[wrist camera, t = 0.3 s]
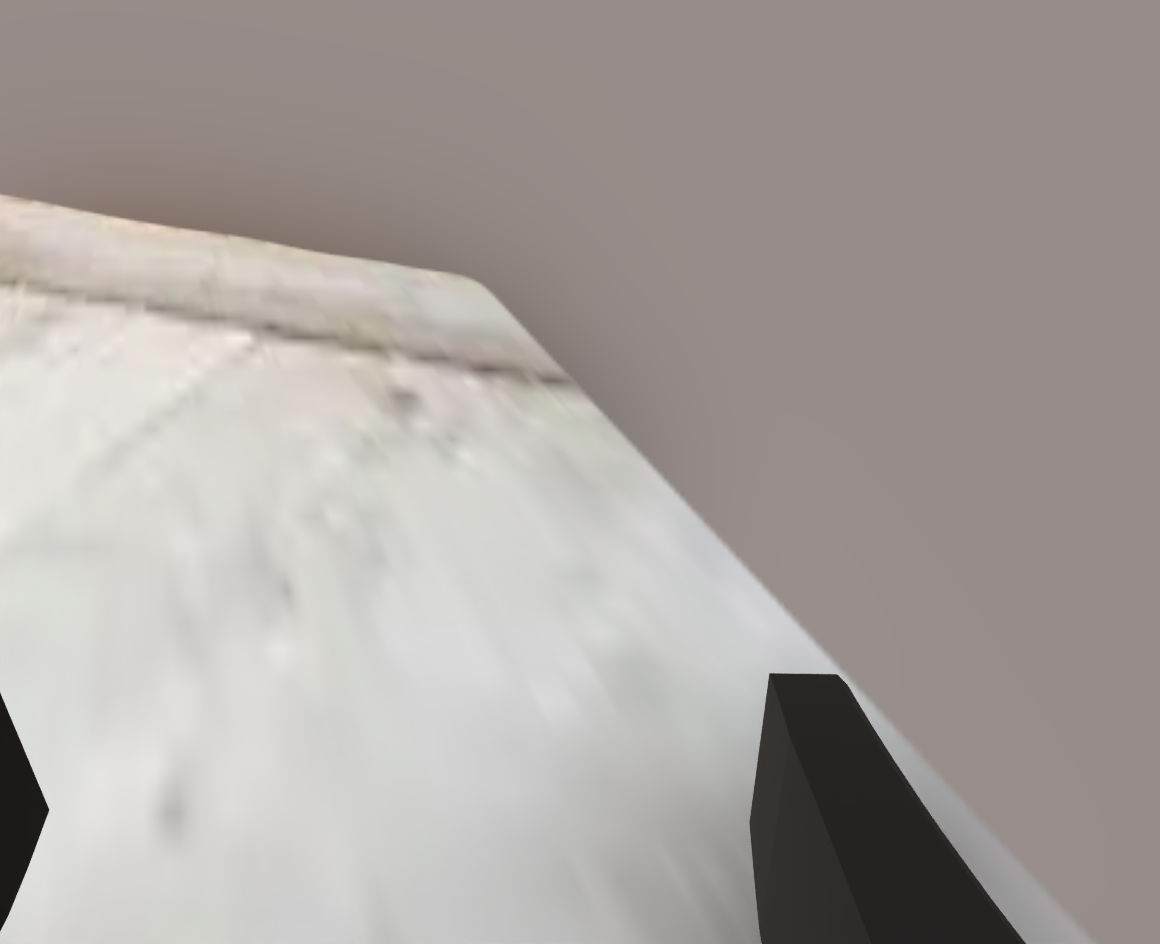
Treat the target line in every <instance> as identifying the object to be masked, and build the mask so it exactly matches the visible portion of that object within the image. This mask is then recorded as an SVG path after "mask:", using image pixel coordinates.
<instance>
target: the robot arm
mask: <svg viewBox="0 0 1160 944" xmlns="http://www.w3.org/2000/svg"><path fill="white" fill-rule="evenodd" d="M48 812H49V808H48V806H47V803H46V801H45V798H44V796H43V794H42V791H41V789H40V787H39V784H38V782H37V779H36V777H35V775H34V772H33V770H32V767H31V765H30V763H29V760H28V758H27V756H26V753H25V751H24V748H23V746H22V744H21V741H20V739H19V737H18V734H17V732H16V729H15V727H14V725H13V722H12V720H11V717H10V715H9V713H8V710H7V708H6V706H5V703H4V701H3V698H2V696H1V694H0V931H1V929H2V927H3V925H4V923H5V921H6V919H7V917H8V915H9V912H10V910H11V908H12V905H13V903H14V900H15V898H16V895H17V893H18V891H19V888H20V886H21V883H22V881H23V878H24V876H25V873H26V871H27V869H28V866H29V863H30V861H31V858H32V855H33V852H34V850H35V847H36V844H37V842H38V839H39V836H40V834H41V831H42V828H43V825H44V823H45V820H46V817H47V815H48ZM750 833H751V845H752V856H753V867H754V879H755V889H756V899H757V910H758V920H759V930H760V936H761V942H762V944H1026V943H1025V942H1024V941H1023V940H1022V938H1021V937H1020V936H1019V934H1018V933H1017V932H1016V930H1015V929H1014V928H1013V927H1012V925H1011V924H1010V923H1009V921H1008V920H1007V919H1006V917H1005V916H1004V915H1003V914H1002V912H1001V911H1000V910H999V908H998V907H997V906H996V904H995V903H994V902H993V900H992V899H991V898H990V896H989V895H988V894H987V892H986V891H985V890H984V888H983V887H982V885H981V884H980V883H979V881H978V880H977V879H976V877H975V876H974V875H973V873H972V872H971V870H970V869H969V868H968V866H967V865H966V864H965V862H964V861H963V859H962V858H961V857H960V855H959V854H958V853H957V851H956V850H955V848H954V847H953V846H952V844H951V843H950V842H949V840H948V839H947V837H946V836H945V835H944V833H943V832H942V831H941V829H940V828H939V826H938V825H937V823H936V822H935V820H934V819H933V818H932V816H931V815H930V813H929V812H928V810H927V809H926V808H925V806H924V805H923V803H922V802H921V800H920V799H919V797H918V796H917V794H916V793H915V791H914V790H913V788H912V787H911V785H910V784H909V782H908V781H907V779H906V778H905V776H904V775H903V773H902V772H901V770H900V769H899V767H898V766H897V764H896V763H895V761H894V760H893V758H892V756H891V755H890V753H889V752H888V750H887V749H886V747H885V746H884V744H883V742H882V741H881V739H880V738H879V736H878V735H877V733H876V731H875V730H874V728H873V727H872V725H871V723H870V722H869V720H868V718H867V717H866V715H865V713H864V712H863V710H862V709H861V707H860V705H859V704H858V702H857V700H856V699H855V697H854V695H853V693H852V692H851V690H850V688H849V687H848V685H847V684H846V683H845V682H844V681H843V680H842V679H841V678H840V677H839V676H838V675H837V674H776V673H769V681H768V688H767V696H766V703H765V711H764V718H763V726H762V733H761V741H760V748H759V756H758V764H757V771H756V779H755V786H754V794H753V801H752V809H751V816H750Z"/></svg>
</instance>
